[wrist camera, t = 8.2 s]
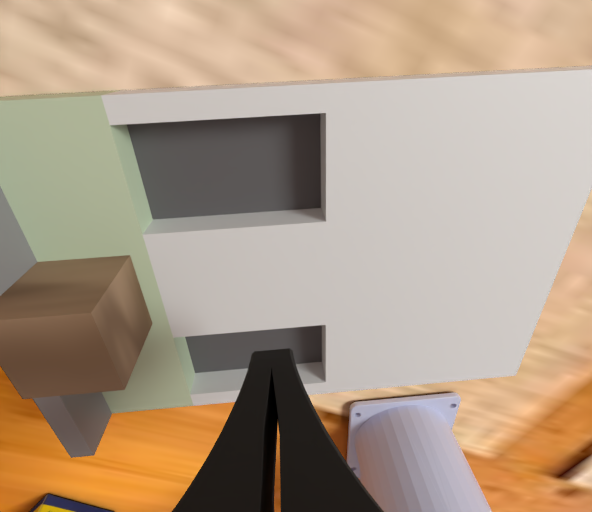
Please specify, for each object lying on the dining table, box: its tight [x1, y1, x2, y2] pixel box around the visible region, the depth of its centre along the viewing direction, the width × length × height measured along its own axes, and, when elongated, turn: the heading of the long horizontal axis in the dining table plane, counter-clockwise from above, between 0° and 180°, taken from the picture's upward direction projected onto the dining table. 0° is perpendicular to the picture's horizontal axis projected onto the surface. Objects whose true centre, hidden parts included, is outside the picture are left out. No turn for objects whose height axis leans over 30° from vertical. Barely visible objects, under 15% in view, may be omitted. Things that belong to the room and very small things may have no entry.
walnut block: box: [0, 255, 153, 399], centre depth 15 cm, size 4×4×4 cm
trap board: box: [0, 66, 592, 458], centre depth 17 cm, size 17×26×4 cm, turn 93°
